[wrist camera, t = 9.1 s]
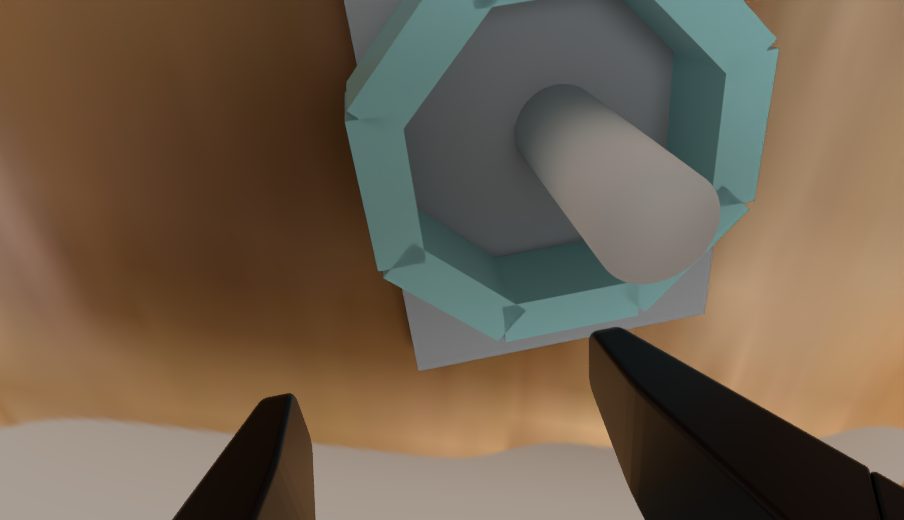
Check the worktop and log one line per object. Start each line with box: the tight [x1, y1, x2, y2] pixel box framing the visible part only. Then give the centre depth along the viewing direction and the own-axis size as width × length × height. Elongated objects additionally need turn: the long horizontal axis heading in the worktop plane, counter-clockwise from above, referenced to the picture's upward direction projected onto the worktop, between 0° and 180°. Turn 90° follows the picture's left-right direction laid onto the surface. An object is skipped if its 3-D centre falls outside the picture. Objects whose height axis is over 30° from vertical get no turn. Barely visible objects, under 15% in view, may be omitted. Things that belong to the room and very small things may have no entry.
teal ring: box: [345, 0, 779, 342], centre depth 15 cm, size 10×10×2 cm
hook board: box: [344, 0, 745, 371], centre depth 14 cm, size 10×15×8 cm, turn 7°
